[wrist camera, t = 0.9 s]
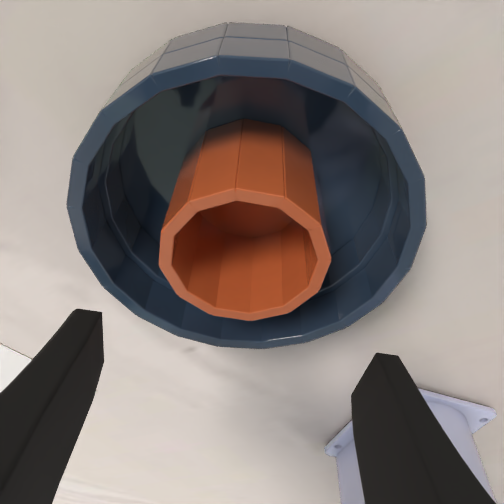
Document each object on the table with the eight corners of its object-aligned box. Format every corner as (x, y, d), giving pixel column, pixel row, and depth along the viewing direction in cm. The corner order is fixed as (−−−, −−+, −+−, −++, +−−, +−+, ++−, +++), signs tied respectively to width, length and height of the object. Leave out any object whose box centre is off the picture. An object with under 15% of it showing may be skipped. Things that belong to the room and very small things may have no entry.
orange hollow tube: (298, 246, 21) (304, 329, 17) (177, 226, 20) (155, 307, 16) (334, 135, 17) (352, 208, 13) (189, 107, 17) (164, 175, 13)
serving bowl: (317, 308, 24) (324, 374, 21) (85, 240, 22) (53, 304, 18) (463, 97, 17) (510, 149, 13) (135, -44, 14) (94, -22, 11)
